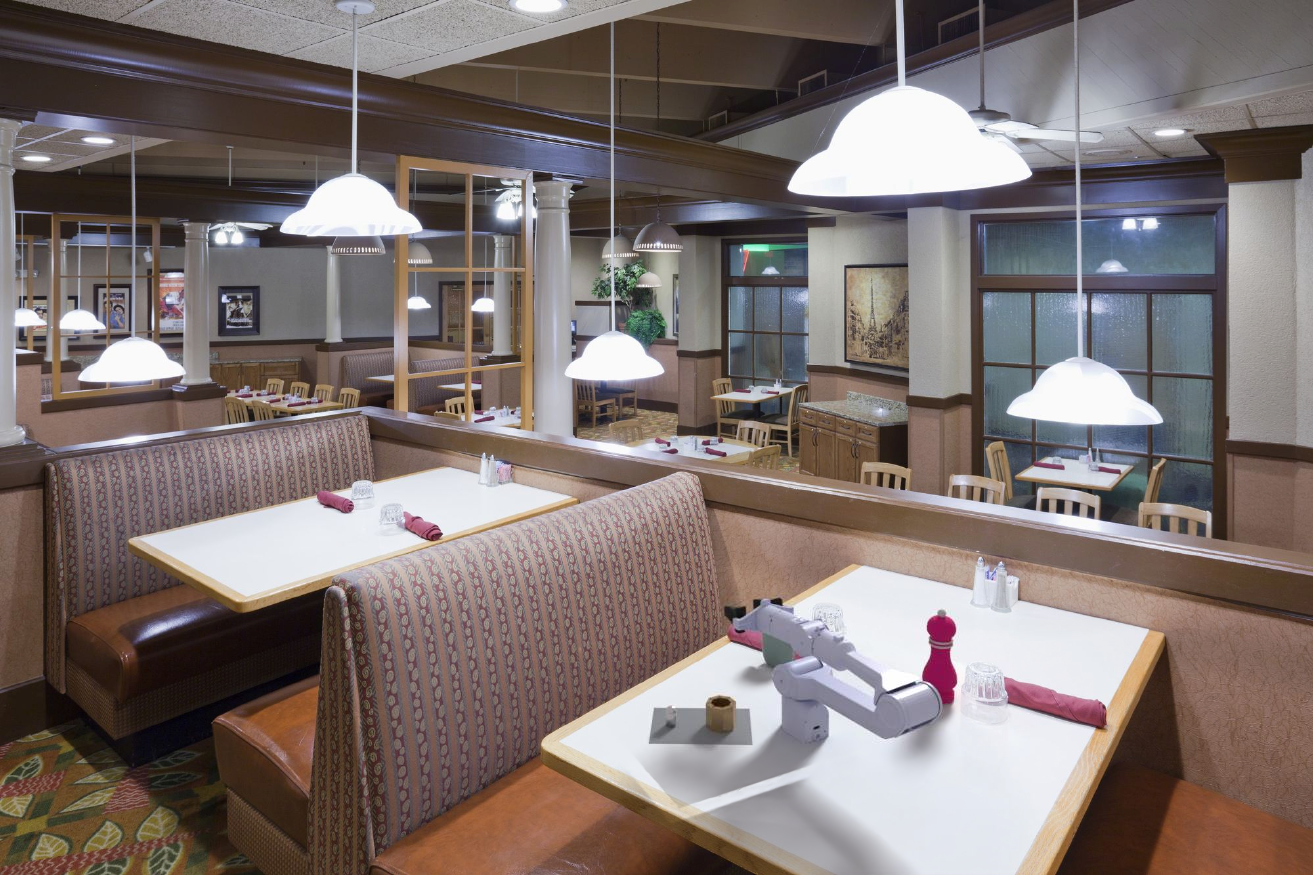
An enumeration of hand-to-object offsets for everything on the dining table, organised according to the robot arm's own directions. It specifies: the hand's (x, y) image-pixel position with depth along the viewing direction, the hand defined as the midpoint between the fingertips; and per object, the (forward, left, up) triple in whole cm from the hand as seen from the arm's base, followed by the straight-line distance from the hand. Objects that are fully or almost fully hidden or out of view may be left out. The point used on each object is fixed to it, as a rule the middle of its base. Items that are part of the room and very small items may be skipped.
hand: (740, 607), depth 181 cm
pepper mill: (-22, -37, -21) cm, 47 cm away
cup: (+8, -16, -21) cm, 27 cm away
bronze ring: (-12, +12, -19) cm, 25 cm away
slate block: (-10, +15, -20) cm, 27 cm away
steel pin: (-7, +20, -19) cm, 29 cm away
